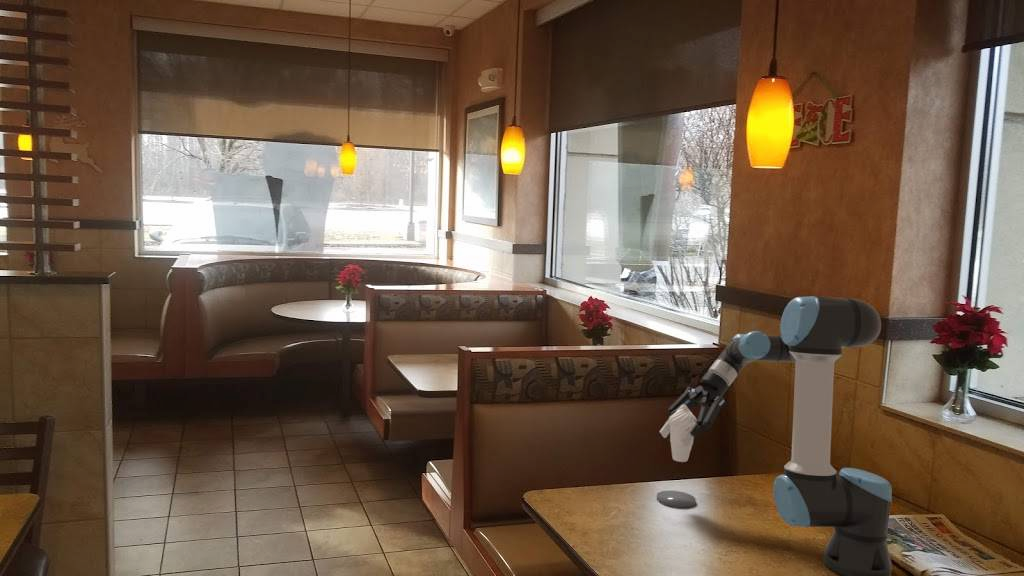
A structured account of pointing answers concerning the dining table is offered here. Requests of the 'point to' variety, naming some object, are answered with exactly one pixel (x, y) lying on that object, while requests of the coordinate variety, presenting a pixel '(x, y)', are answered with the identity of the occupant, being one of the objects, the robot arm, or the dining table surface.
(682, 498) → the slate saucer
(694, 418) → the soft serve ice cream cone
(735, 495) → the dining table surface
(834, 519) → the robot arm
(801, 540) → the dining table surface
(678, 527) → the dining table surface
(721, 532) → the dining table surface
